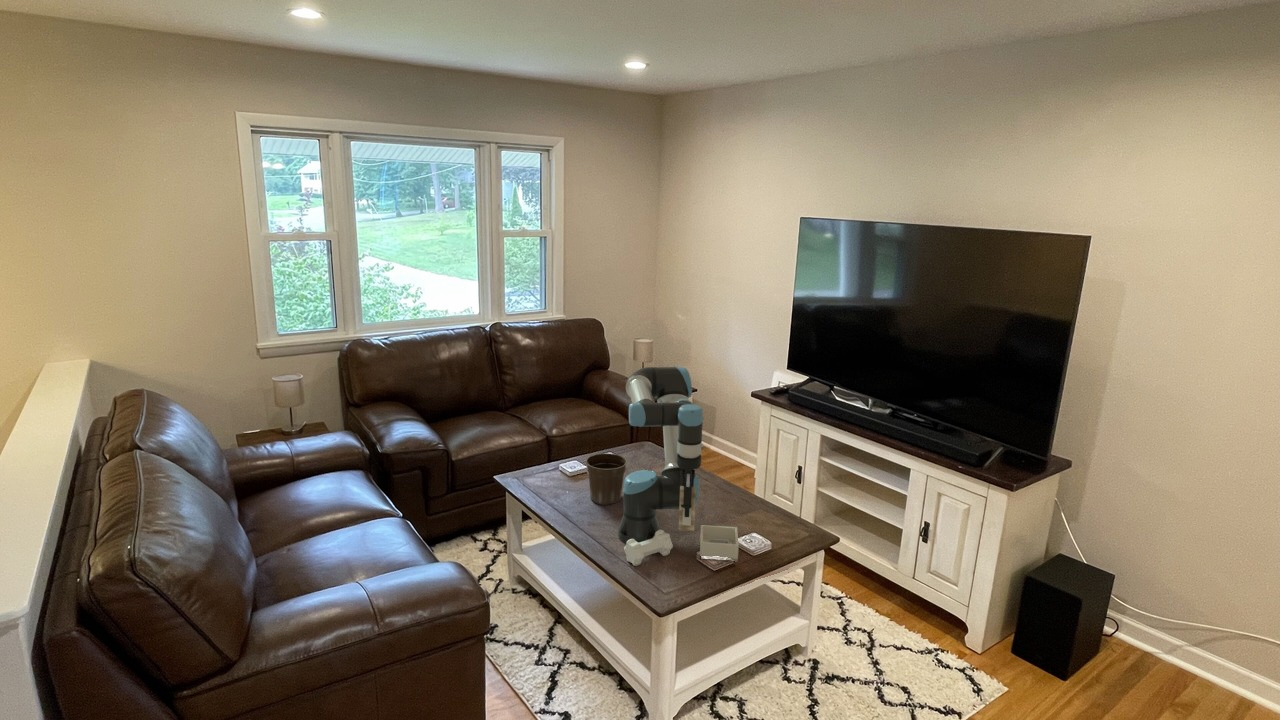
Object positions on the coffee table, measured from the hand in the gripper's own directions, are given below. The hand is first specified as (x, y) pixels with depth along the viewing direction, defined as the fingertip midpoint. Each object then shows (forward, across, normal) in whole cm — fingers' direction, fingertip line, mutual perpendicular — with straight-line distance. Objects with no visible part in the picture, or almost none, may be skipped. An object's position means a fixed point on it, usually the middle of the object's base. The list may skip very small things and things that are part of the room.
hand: (686, 521), depth 216 cm
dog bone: (+17, +4, +12) cm, 21 cm away
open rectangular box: (+16, +12, -11) cm, 23 cm away
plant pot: (+17, +47, +33) cm, 60 cm away
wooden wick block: (+2, 0, 0) cm, 2 cm away
